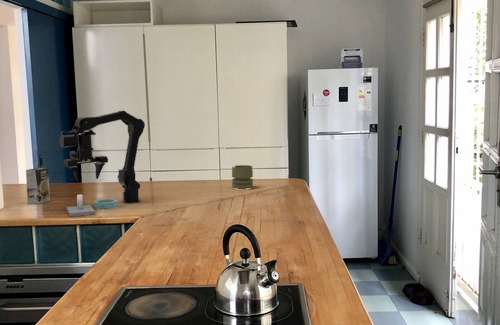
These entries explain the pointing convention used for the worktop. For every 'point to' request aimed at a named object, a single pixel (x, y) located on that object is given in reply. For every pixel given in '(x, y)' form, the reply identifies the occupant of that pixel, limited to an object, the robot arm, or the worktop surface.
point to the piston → (242, 176)
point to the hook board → (79, 212)
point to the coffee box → (37, 185)
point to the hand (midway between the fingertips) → (87, 180)
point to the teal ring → (106, 203)
